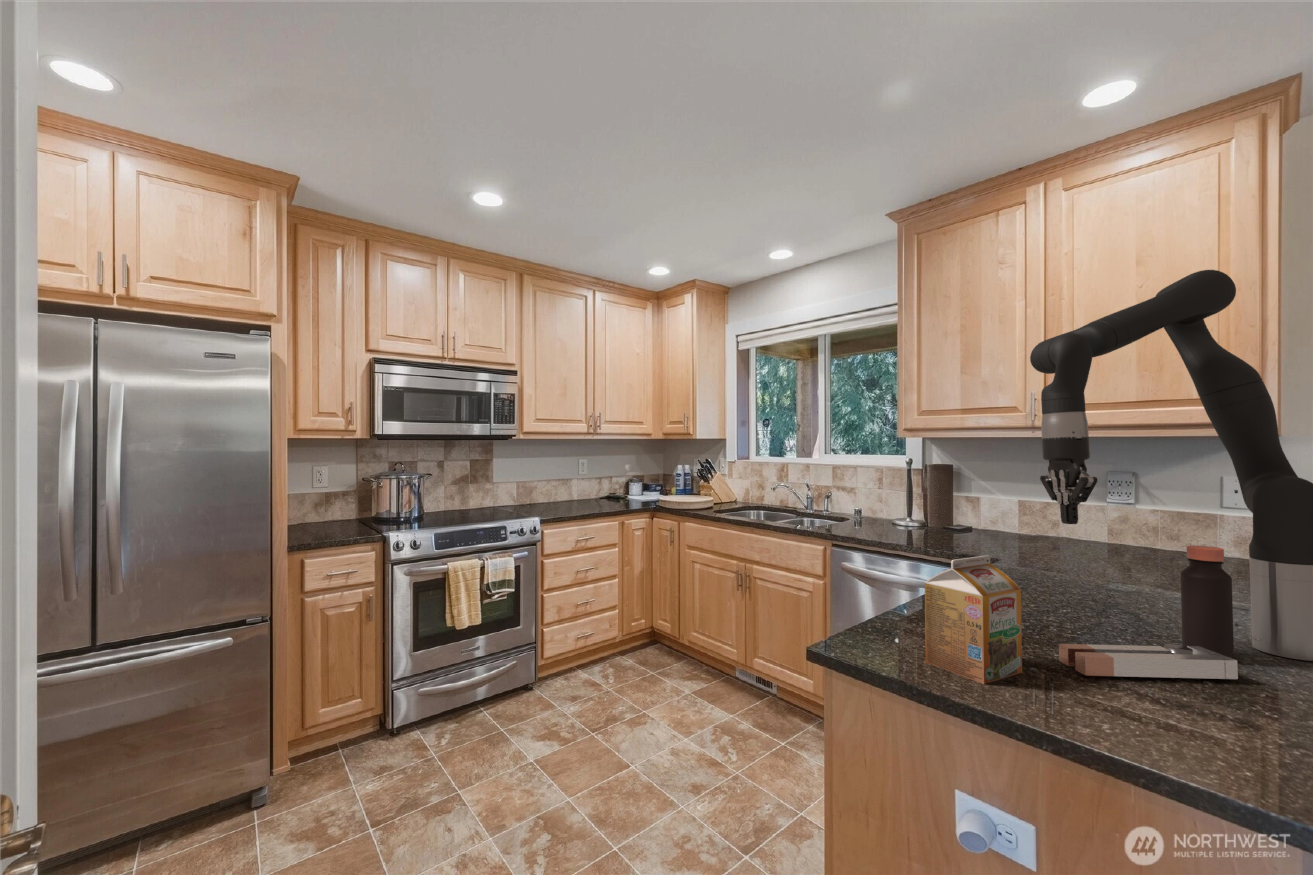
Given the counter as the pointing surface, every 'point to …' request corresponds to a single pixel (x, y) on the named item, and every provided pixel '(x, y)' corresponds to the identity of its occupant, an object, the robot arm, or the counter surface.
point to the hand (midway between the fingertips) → (1069, 523)
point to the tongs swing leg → (1117, 650)
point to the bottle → (1207, 601)
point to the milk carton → (974, 621)
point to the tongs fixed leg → (1158, 664)
